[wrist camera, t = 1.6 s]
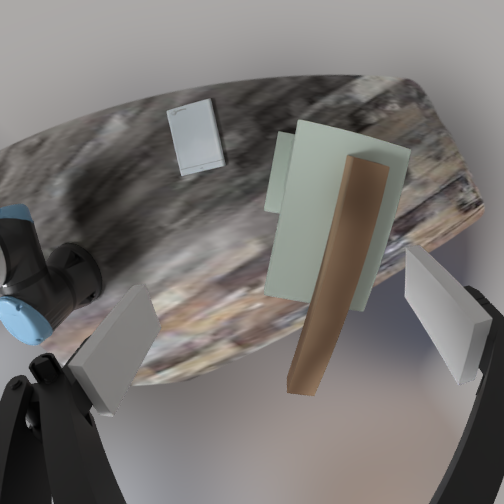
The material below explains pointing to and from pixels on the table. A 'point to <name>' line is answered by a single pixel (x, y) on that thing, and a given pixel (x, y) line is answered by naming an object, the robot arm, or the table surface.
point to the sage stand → (323, 205)
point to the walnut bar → (338, 271)
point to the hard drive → (196, 137)
